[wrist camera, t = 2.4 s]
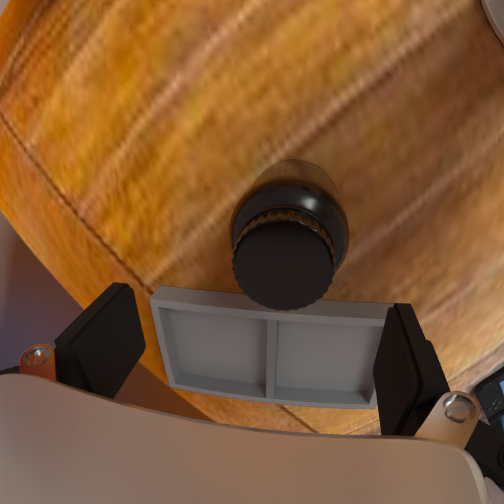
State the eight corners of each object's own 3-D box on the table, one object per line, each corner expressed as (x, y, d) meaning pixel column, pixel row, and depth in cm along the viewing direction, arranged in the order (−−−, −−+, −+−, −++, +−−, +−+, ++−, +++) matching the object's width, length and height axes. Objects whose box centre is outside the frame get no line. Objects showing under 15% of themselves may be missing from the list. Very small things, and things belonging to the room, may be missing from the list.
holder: (398, 303, 27) (404, 319, 25) (372, 392, 32) (374, 409, 30) (160, 285, 31) (149, 298, 29) (177, 372, 36) (169, 387, 34)
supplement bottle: (309, 255, 27) (301, 350, 16) (238, 212, 27) (185, 285, 16) (356, 188, 24) (387, 250, 13) (280, 140, 24) (251, 163, 13)
